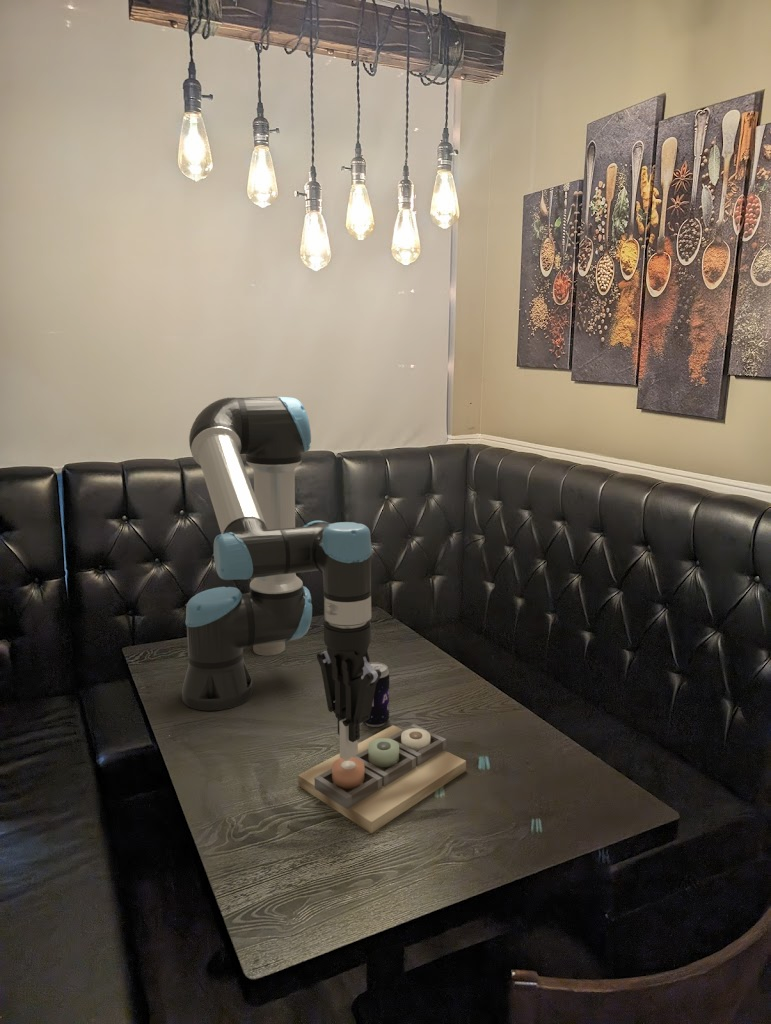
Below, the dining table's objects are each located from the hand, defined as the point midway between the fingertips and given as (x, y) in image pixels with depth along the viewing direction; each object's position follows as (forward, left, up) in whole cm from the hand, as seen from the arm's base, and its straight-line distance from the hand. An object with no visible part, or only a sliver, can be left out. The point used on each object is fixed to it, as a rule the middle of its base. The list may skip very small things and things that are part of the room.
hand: (348, 755), depth 116 cm
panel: (0, +9, -8) cm, 12 cm away
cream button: (0, +17, -6) cm, 18 cm away
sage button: (0, +9, -5) cm, 10 cm away
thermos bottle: (-60, +29, -9) cm, 67 cm away
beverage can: (-15, +22, -9) cm, 28 cm away
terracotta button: (0, 0, -5) cm, 5 cm away
